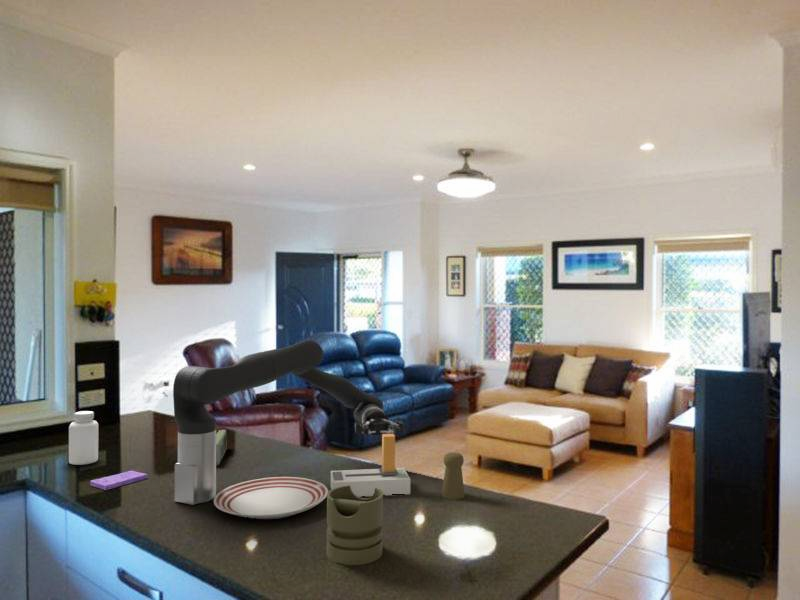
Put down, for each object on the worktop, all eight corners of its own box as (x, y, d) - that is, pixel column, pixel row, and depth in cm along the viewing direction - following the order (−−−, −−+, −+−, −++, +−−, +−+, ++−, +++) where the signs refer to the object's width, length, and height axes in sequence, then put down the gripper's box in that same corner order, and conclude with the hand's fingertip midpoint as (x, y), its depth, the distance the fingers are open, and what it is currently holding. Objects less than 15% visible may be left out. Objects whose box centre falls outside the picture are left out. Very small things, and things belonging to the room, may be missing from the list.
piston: (339, 482, 132) (389, 487, 129) (338, 538, 132) (389, 544, 129) (318, 500, 121) (372, 506, 118) (317, 560, 121) (372, 568, 118)
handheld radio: (228, 449, 203) (217, 472, 178) (218, 450, 203) (205, 472, 178) (227, 429, 203) (216, 449, 178) (217, 429, 202) (204, 449, 178)
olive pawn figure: (463, 500, 156) (464, 457, 156) (440, 498, 157) (440, 455, 157) (465, 492, 162) (466, 451, 162) (443, 490, 163) (443, 449, 163)
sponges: (90, 487, 165) (90, 480, 164) (132, 475, 175) (132, 469, 175) (105, 492, 161) (105, 485, 161) (147, 480, 171) (147, 473, 171)
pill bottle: (103, 458, 190) (103, 410, 190) (88, 466, 182) (88, 415, 182) (79, 457, 191) (79, 409, 190) (62, 465, 183) (62, 414, 182)
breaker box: (333, 498, 157) (333, 482, 157) (330, 485, 167) (330, 470, 167) (410, 494, 160) (410, 478, 160) (403, 482, 170) (403, 467, 170)
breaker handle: (381, 475, 162) (381, 437, 161) (378, 470, 166) (379, 433, 166) (397, 474, 162) (398, 436, 162) (394, 469, 167) (395, 433, 167)
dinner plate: (212, 533, 134) (212, 518, 134) (214, 492, 161) (214, 479, 161) (336, 521, 142) (337, 507, 142) (319, 484, 168) (319, 472, 168)
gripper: (352, 408, 189) (357, 419, 173) (397, 407, 192) (407, 418, 176) (351, 432, 189) (357, 446, 173) (397, 431, 192) (406, 444, 176)
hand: (382, 432), depth 175 cm, fingers open, 8 cm apart
